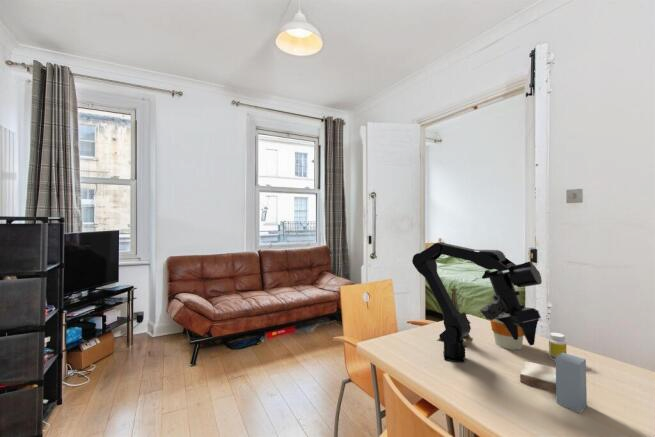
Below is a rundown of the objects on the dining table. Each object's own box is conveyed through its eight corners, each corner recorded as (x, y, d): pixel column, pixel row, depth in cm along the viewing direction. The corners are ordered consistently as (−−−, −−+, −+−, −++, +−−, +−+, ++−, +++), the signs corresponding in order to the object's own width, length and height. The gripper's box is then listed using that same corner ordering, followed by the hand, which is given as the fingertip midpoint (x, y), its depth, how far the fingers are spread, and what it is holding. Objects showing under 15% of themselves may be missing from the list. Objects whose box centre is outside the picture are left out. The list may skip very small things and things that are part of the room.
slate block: (556, 403, 80) (555, 357, 80) (563, 396, 83) (562, 352, 83) (580, 412, 76) (579, 364, 76) (586, 405, 79) (585, 359, 79)
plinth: (520, 381, 91) (520, 373, 91) (524, 368, 98) (524, 360, 98) (562, 393, 84) (562, 384, 84) (563, 378, 92) (563, 369, 92)
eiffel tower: (472, 338, 123) (471, 277, 124) (464, 347, 115) (463, 281, 116) (446, 332, 130) (445, 274, 130) (437, 340, 122) (435, 278, 122)
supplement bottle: (569, 362, 102) (569, 337, 102) (553, 361, 103) (553, 336, 103) (561, 356, 106) (561, 332, 106) (546, 355, 107) (546, 331, 107)
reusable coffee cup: (527, 342, 119) (526, 303, 119) (528, 354, 108) (527, 312, 108) (491, 335, 126) (490, 299, 126) (488, 347, 115) (487, 307, 115)
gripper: (468, 295, 104) (484, 343, 100) (490, 296, 86) (511, 355, 82) (501, 287, 103) (518, 335, 99) (530, 287, 85) (553, 345, 81)
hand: (523, 342), depth 91 cm, fingers open, 9 cm apart
